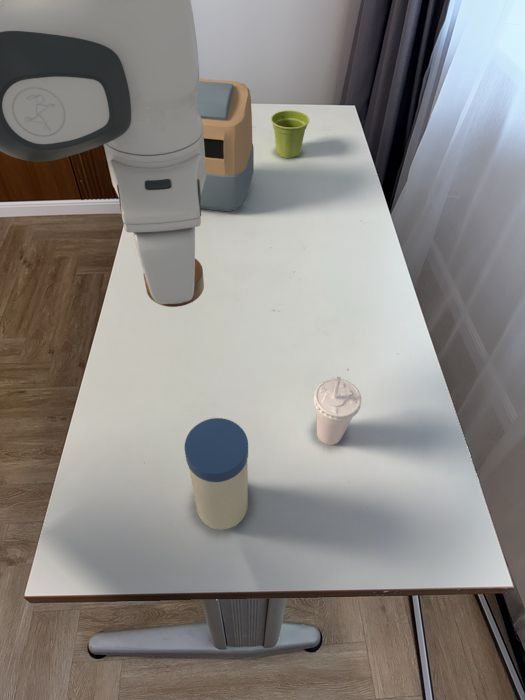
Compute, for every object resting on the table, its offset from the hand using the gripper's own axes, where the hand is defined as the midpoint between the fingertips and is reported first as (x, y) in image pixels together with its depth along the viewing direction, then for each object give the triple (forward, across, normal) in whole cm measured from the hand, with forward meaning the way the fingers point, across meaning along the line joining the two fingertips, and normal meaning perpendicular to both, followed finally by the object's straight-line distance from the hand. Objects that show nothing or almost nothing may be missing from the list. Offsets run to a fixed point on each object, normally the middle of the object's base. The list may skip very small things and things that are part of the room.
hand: (173, 275), depth 57 cm
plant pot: (+27, -74, +30) cm, 85 cm away
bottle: (+27, +16, +3) cm, 31 cm away
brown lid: (+2, 0, 0) cm, 2 cm away
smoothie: (+27, +8, +20) cm, 34 cm away
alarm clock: (+27, -58, +10) cm, 65 cm away
